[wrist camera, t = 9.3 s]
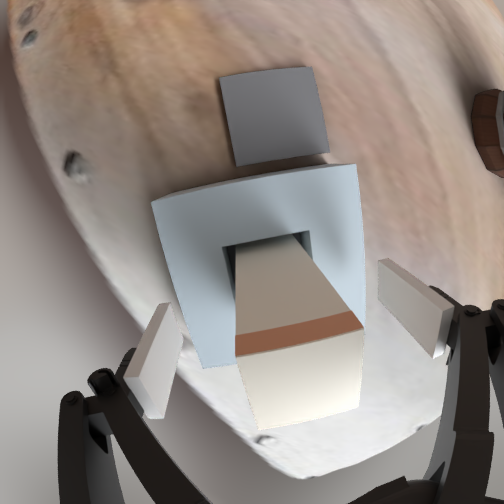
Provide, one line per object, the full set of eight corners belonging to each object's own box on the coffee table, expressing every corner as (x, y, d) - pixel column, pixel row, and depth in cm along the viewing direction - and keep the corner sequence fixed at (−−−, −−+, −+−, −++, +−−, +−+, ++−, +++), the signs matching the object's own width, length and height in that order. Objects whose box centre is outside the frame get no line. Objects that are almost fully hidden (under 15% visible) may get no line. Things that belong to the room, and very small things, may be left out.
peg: (235, 242, 22) (234, 357, 8) (290, 231, 22) (365, 328, 8) (246, 292, 23) (258, 430, 10) (297, 282, 23) (358, 407, 10)
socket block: (171, 193, 23) (150, 201, 17) (328, 163, 23) (355, 163, 17) (208, 330, 27) (202, 368, 21) (342, 303, 27) (364, 335, 21)
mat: (219, 81, 20) (218, 77, 19) (309, 70, 20) (311, 66, 19) (236, 166, 23) (236, 166, 22) (326, 153, 23) (330, 152, 22)
